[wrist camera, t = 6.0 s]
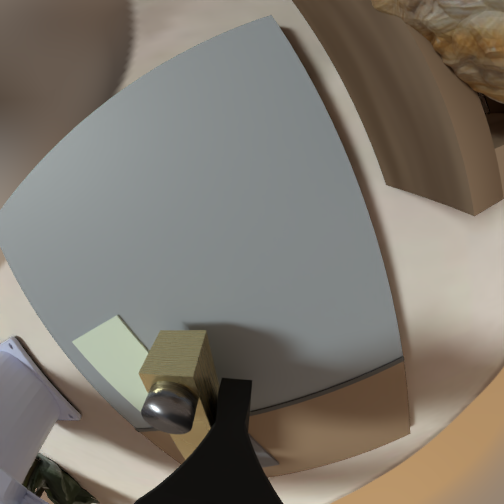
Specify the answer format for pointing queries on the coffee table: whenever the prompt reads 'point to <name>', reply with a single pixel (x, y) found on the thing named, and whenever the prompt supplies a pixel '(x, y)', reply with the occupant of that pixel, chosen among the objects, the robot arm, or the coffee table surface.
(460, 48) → the lion figurine
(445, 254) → the coffee table surface
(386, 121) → the display tray
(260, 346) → the door board
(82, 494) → the rose bouquet
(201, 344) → the latch bar
